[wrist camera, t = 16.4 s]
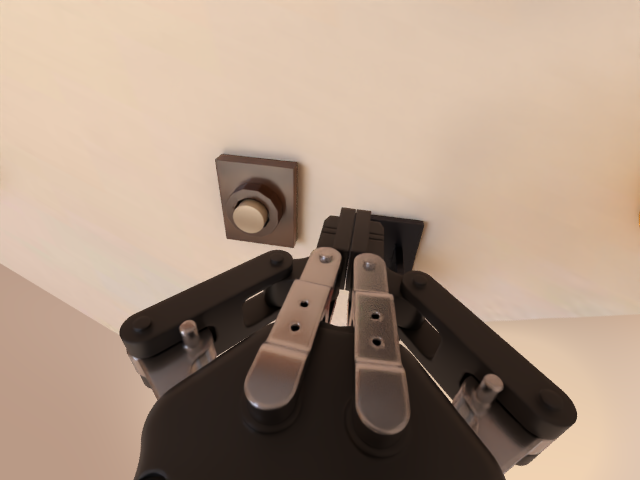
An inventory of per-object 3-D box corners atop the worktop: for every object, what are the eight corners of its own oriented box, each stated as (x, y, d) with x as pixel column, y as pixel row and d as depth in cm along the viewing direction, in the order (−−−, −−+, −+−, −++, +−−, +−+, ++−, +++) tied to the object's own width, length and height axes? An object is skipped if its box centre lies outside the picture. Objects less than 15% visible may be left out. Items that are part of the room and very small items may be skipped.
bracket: (354, 212, 43) (345, 277, 32) (423, 220, 42) (437, 291, 31) (346, 279, 49) (335, 351, 39) (404, 287, 48) (410, 364, 38)
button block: (221, 153, 41) (207, 165, 38) (297, 162, 40) (289, 174, 37) (231, 231, 48) (220, 246, 45) (296, 240, 47) (290, 256, 44)
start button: (236, 197, 40) (231, 203, 39) (267, 200, 40) (263, 207, 38) (239, 223, 42) (234, 231, 41) (268, 227, 42) (264, 235, 40)
